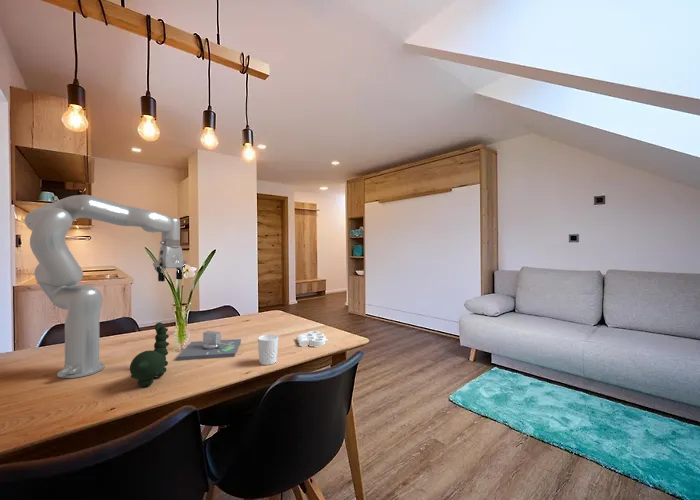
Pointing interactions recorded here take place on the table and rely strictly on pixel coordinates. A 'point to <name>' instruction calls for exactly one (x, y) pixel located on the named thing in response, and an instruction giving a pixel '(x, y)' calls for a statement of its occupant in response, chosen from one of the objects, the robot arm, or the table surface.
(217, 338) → the gray cube on spoon
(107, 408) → the table surface
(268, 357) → the white cup
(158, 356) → the toy figurine
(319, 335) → the white brass knuckles
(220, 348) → the dial plate
